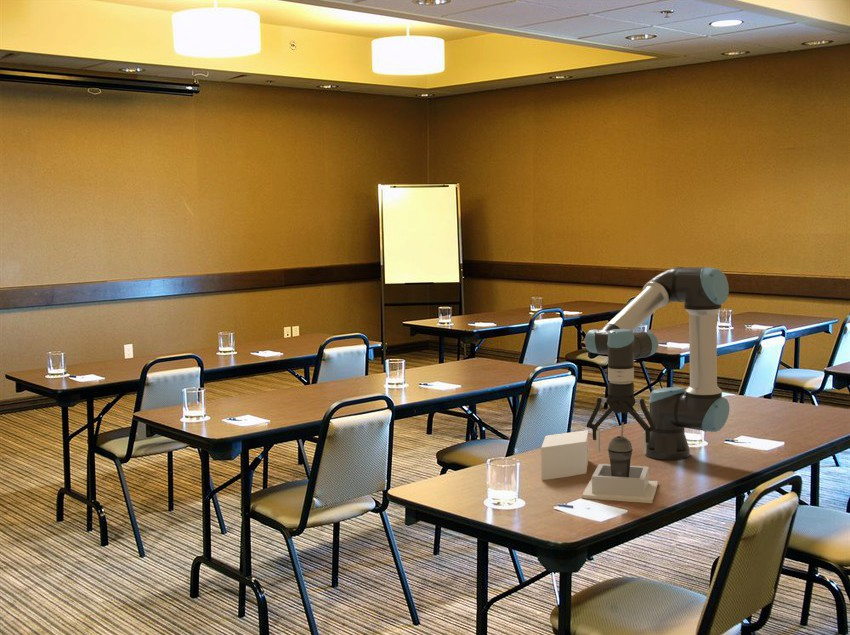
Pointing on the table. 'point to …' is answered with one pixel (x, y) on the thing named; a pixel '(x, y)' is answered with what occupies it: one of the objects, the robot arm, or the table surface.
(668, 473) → the table surface
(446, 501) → the table surface
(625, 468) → the beverage cup
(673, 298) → the robot arm
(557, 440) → the block
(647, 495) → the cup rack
